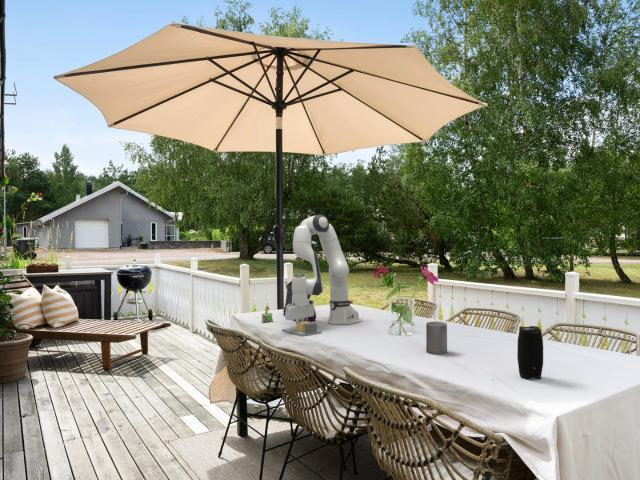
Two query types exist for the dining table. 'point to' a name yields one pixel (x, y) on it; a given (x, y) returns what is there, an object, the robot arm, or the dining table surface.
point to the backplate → (309, 330)
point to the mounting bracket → (310, 317)
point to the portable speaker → (530, 352)
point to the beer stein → (290, 296)
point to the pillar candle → (436, 338)
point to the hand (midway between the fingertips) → (300, 326)
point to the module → (301, 326)
